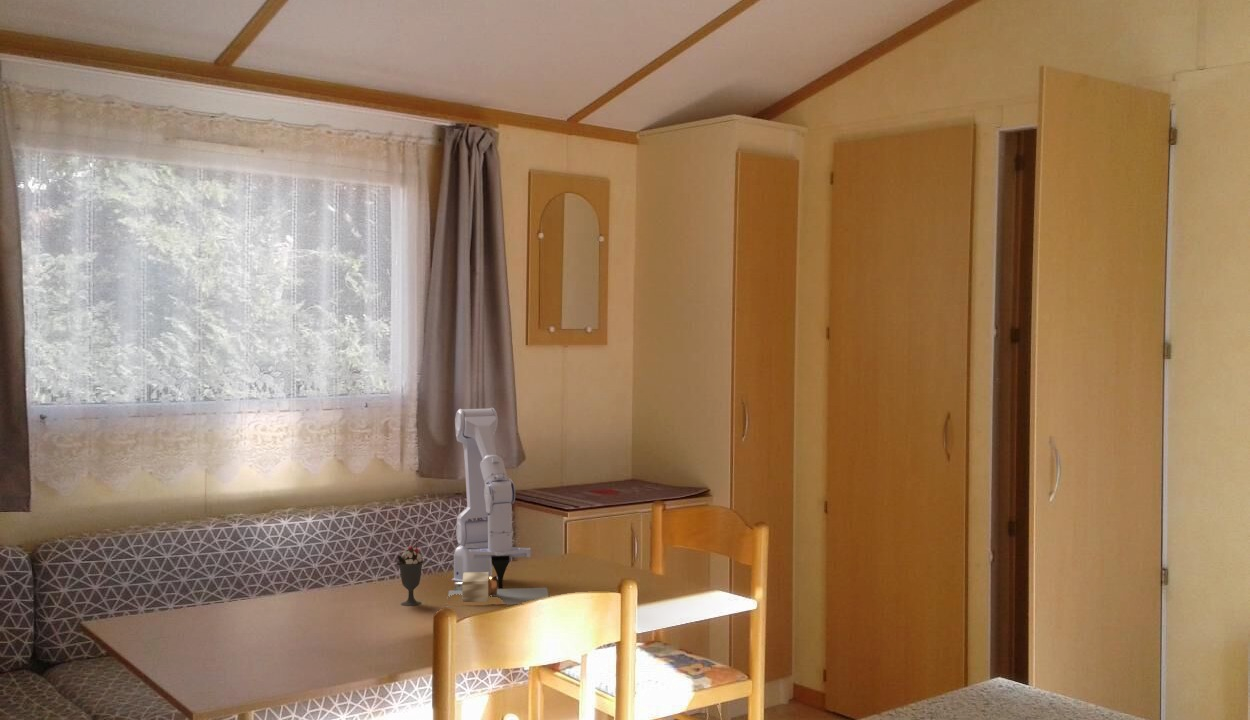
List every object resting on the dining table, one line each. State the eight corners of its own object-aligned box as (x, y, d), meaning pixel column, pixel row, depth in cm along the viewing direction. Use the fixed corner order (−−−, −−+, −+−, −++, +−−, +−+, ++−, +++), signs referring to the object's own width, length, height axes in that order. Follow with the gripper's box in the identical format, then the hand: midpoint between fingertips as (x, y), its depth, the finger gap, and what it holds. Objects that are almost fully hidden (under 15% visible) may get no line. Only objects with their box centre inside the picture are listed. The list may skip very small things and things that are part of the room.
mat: (446, 607, 261) (446, 606, 261) (449, 591, 277) (449, 590, 277) (549, 604, 263) (549, 603, 263) (547, 588, 279) (547, 587, 279)
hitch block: (462, 603, 264) (462, 581, 264) (463, 593, 274) (463, 572, 274) (488, 602, 265) (488, 581, 264) (488, 592, 275) (488, 571, 274)
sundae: (428, 601, 267) (428, 538, 266) (420, 608, 260) (420, 543, 260) (401, 600, 267) (401, 537, 267) (393, 607, 261) (392, 543, 260)
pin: (454, 597, 266) (454, 579, 266) (455, 593, 271) (454, 575, 271) (496, 596, 268) (496, 578, 267) (496, 592, 272) (496, 574, 272)
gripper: (468, 535, 265) (469, 592, 265) (530, 533, 266) (531, 590, 267) (469, 529, 272) (470, 585, 272) (530, 528, 273) (530, 583, 274)
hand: (500, 587), depth 270 cm, fingers closed
